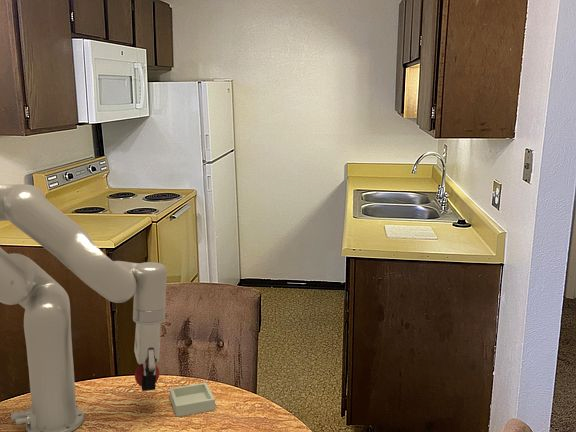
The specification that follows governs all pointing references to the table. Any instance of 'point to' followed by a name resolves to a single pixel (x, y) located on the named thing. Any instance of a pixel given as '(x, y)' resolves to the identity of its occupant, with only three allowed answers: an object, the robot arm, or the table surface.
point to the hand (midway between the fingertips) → (146, 383)
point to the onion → (140, 372)
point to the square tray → (192, 399)
